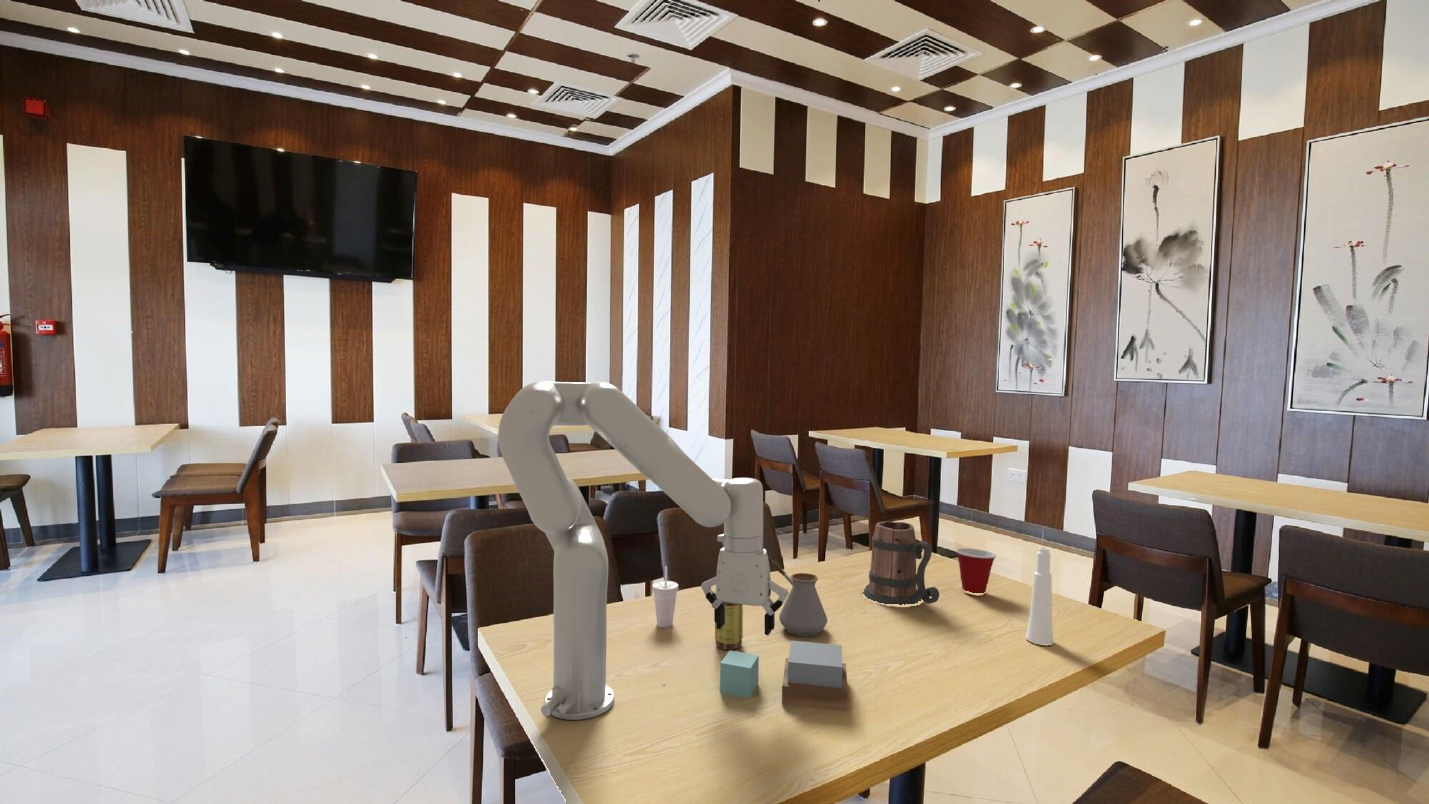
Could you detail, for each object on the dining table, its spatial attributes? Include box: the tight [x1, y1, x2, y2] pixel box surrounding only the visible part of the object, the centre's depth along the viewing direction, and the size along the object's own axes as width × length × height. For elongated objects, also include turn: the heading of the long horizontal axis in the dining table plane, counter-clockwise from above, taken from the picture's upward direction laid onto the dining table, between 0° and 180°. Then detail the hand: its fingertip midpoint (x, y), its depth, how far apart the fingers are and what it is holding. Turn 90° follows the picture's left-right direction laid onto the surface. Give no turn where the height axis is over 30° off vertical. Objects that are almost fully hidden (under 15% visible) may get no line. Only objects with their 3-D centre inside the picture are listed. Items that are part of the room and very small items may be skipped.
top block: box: [787, 640, 843, 688], centre depth 129 cm, size 10×10×4 cm
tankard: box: [863, 521, 940, 605], centre depth 180 cm, size 24×17×20 cm
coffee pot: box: [767, 553, 828, 637], centre depth 163 cm, size 21×12×15 cm, turn 34°
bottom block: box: [781, 657, 849, 712], centre depth 129 cm, size 12×12×4 cm
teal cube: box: [719, 650, 760, 699], centre depth 130 cm, size 6×6×6 cm
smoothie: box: [651, 565, 680, 628], centre depth 161 cm, size 6×6×14 cm
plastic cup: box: [955, 547, 997, 593], centre depth 188 cm, size 11×11×12 cm
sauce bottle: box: [714, 591, 744, 651], centre depth 149 cm, size 7×6×20 cm
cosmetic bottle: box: [1025, 546, 1055, 645], centre depth 155 cm, size 6×6×22 cm
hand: (744, 629), depth 129 cm, fingers open, 9 cm apart
